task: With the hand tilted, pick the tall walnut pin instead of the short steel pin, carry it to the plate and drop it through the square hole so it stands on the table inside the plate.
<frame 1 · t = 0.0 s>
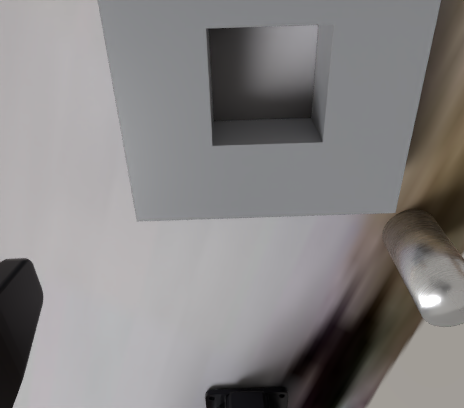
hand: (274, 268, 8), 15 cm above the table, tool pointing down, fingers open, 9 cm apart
steel pin: (408, 231, 26), on the table
hole plate: (263, 70, 21), on the table
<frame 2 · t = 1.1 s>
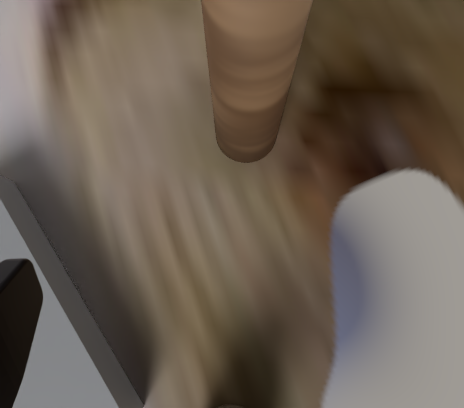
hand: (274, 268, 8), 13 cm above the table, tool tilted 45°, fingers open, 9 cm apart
walnut pin: (246, 133, 23), on the table
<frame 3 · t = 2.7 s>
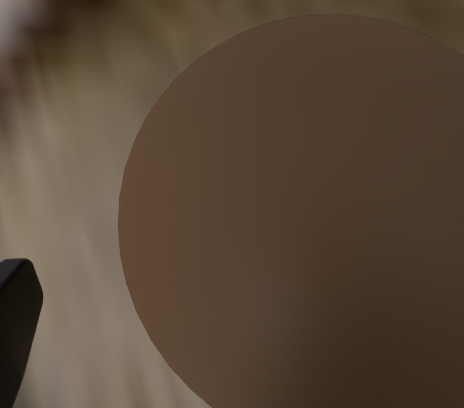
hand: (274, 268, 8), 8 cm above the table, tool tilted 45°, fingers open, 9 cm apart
walnut pin: (254, 282, 16), on the table
when the fingers open (8 cm above the table, at t = 8.6 s): walnut pin drops 1 cm, resting in hole plate.
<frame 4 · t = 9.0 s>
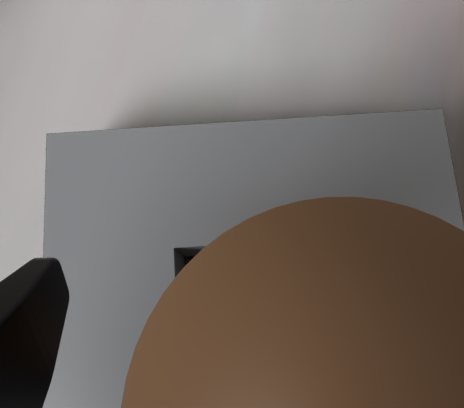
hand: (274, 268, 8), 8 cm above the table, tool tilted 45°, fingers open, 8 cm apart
hole plate: (256, 320, 16), on the table
walnut pin: (256, 321, 16), resting in hole plate
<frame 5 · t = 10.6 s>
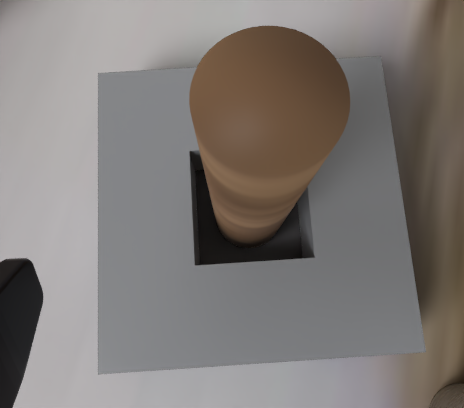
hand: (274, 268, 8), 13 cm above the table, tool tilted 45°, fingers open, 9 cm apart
hole plate: (248, 215, 21), on the table
walnut pin: (248, 215, 21), resting in hole plate
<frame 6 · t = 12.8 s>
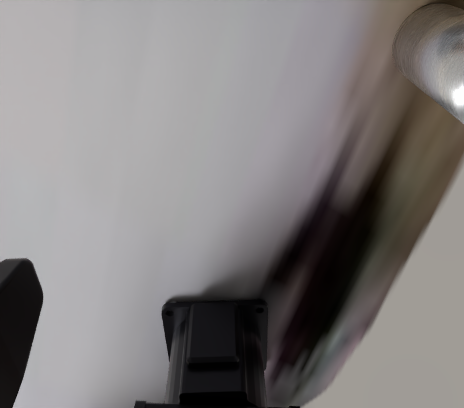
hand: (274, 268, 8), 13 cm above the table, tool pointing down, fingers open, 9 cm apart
steel pin: (429, 43, 18), on the table
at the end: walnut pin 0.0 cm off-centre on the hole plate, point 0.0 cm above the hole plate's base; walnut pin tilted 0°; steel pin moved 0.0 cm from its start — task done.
